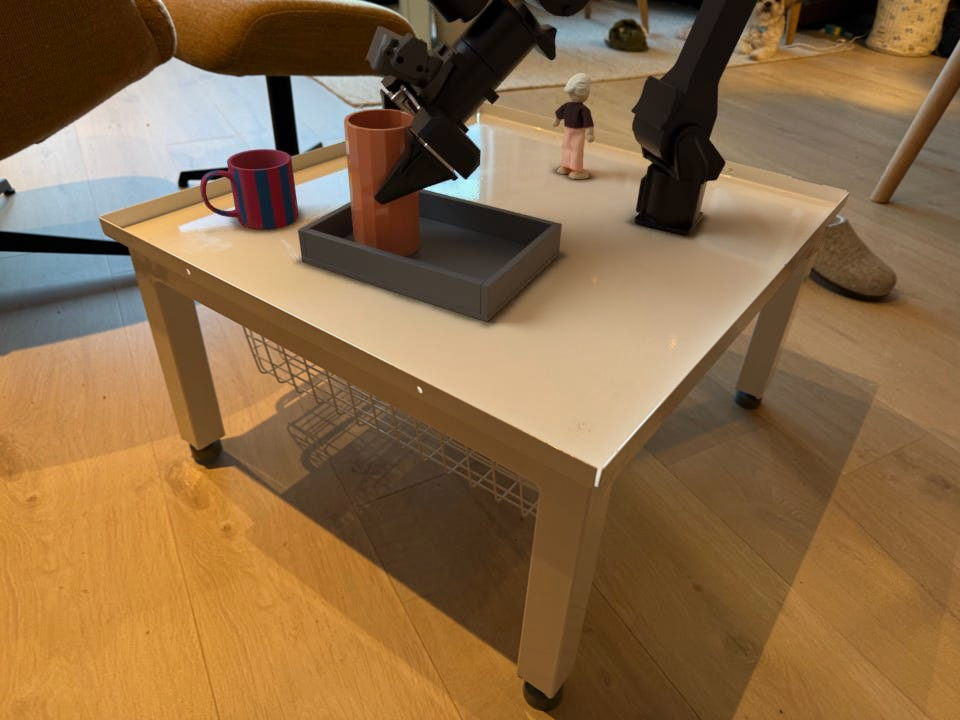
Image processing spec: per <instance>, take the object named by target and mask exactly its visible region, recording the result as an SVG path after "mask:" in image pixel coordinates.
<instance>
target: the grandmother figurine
mask: <svg viewBox="0 0 960 720" xmlns="http://www.w3.org/2000/svg"><path fill="white" fill-rule="evenodd" d="M591 86H592V78H591V76H590V75H588V74H586V73H583V72H579V73H577V74H574V75H573V76H572V77H571V78H569V80H567V83H566V84H565V87H564V88H563V92H564V93H566V94H568V97H569V99H570V100H571V101H566V102H565V103H563V104H561V105H560V106H559V107H558V108H556V110H555V112H554V113H555V114H554V118H553V120H552V122H551V123H552V124H551V125H552V126H553V127H555V128H557V127H559V126H560V124H561V121H562V120H563V126H564V131H563V136H562V143H561V158H560V167H558V169H557V172H556V173H558V174H559V175H560V174H561V175H568V177H569V178H570V179H572V180H581V179H582V180H584V179H588V178H589V177H590V174H589V171H588V170H586V169H585V168H584V155H585V153H584V152H585V141H586V142H587V143H591V144H592V143H593V142H595V140H596V138H595V124H594V120H593V117H592V111H591V109H590V108H589V107H588V106H587V105H585V104H584V103H585V102H586V101H588V99H589V97H590V93H591V92H590V91H591V90H590V88H591Z"/></svg>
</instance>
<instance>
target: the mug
mask: <svg viewBox="0 0 960 720" xmlns="http://www.w3.org/2000/svg"><path fill="white" fill-rule="evenodd" d="M226 163H227V170H211V171H208V172H206V173H205V174H203V176H202V177H201V180H200V184H199V190H200V196H201V199H202V201H203V203H204V205H205V207H206V208H207V209H208V210H210V211H211V212H213V213H215V214H216V215H219V216H221V217H226V218H236V220H237V222H238V223H239V224H240V225H241V226H242V227H244V228H246V229H250V230H256V231H271V230H277V229H282V228H286V227H288V226H290V225H292V224H294V223H295V222H296V221H297V220H298V219H299V216H300V214H299V205H298V197H297V190H296V182H295V176H294V175H295V174H294V169H293V160H292V156H291V154H289V153H288V152H285V151H283V150H279V149H271V148H259V149H258V148H257V149H249V150H244V151H240V152H237V153H234V154H232V155H231V156H229V158H228V159H227V160H226ZM214 177H223V178H226V179H227V180H229V182H230V188H231V193H232V198H233V205H234V209H232V210H224V209H220V208H218V207H216V206H215V207H214V206H213V204H211V202H210V201H209V199H208V195H207V185H208V182H209V181H210V180H211V179H213V178H214Z"/></svg>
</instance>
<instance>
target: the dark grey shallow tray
mask: <svg viewBox="0 0 960 720" xmlns="http://www.w3.org/2000/svg"><path fill="white" fill-rule="evenodd" d="M419 203H420V247H419V249H418V250H417V251H416V252H414V253H413V254H411V255H408V256H406V257H403V256H399V255H396V254H393V253H389V252H386V251H383V250H379V249H376V248H373V247H369V246H366V245H363V244H359V243H356V242H355V241H354V236H353V224H352V212H351V201H349V202H347V203H345V204H343V205H341V206H340V207H338V208H336V209H334V210H332V211H330V212H328V213H326V214H324V215H322V216H320V217H319V218H316V219H315V220H313V221H311V222H309V223H307V224H305V225H303V226H302V227H299V228H298V229H297V233H298V240H299V241H298V242H299V249H300V255H301V257H300V258H301V262H302V263H305V264H308V265H311V266H314V267H317V268H319V269H323V270H326V271H328V272H329V271H330V272H333V273H336V274H337V275H338V274H339V275H341V276H345V277H348V278H351V279H354V280H357V281H359V282H360V281H361V282H363V283H366V284H370V285H372V286H375V287H378V288H382V289H385V290H388V291H390V292H391V291H392V292H393V293H397V294H400V295H403V296H406V297H410V298H412V299H416V300H419V301H422V302H425V303H428V304H432V305H435V306H437V307H441V308H443V309H447V310H449V311H452V312H456V313H459V314H461V315H462V314H463V315H466V316H469V317H471V318H474V319H478V320H481V321H483V322H487V323H488V322H489V321H490V320H491V319H493V317H494V316H496V315H497V313H499V312H500V311H501V310H502V309H503V308H505V306H506V305H508V303H509V302H510V301H511V300H513V299H514V298H515V297H516V296H517V295H518V294H519V293H520V292H521V291H523V289H524V288H525V287H526V286H528V285H529V284H530V283H531V282H532V281H533V280H534V279H535V278H536V277H537V276H538V275H539V274H540V273H541V272H542V271H544V269H546V268H547V267H548V266H549V265H550V264H551V263H552V262H553V261H555V259H557V258H558V257H559V255H560V247H561V239H562V238H561V237H562V229H563V228H562V227H563V224H562V223H560V222H555V221H553V220H548V219H545V218H544V219H543V218H541V217H537V216H533V215H528V214H524V213H520V212H516V211H513V210H509V209H504V208H502V207H501V208H500V207H498V206H497V207H496V206H492V205H488V204H484V203H480V202H476V201H472V200H468V199H464V198H460V197H456V196H452V195H448V194H444V193H440V192H436V191H432V190H428V189H425V188H424V189H422V190H419Z"/></svg>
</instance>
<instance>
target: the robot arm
mask: <svg viewBox="0 0 960 720" xmlns="http://www.w3.org/2000/svg"><path fill="white" fill-rule="evenodd" d="M425 1H426V2H427V3H428V4H429V5H430V6H431V8H432V9H433V10H434V11H435V12H436V14H438V15H439V16H440V17H441V19H442V20H443V21H444V22H445V23H446V24H451V23H454V22H456V21H458V20H459V22H461V23H462V24H467V23H469V24H468V25H466V27H465V28H464V30H462V32H461V33H460V34H459V35H458V36H457V37H456V38H455V39H454V40H453V42H452V43H451V44H450V43H448V42H447V41H446V40H445V41H440V42H439V43H438V44H437V45H436V46H435V47H434V49H432V50H431V49H429V48H428V43H427V42H426V40H424V39H422V38H418V37H416V36H414V34H412V33H411V32H407V33H405V35H401V34H399V33H396V32H394V31H392V30H390V29H387V28H386V27H384V26H381V25H377V26H376V30H375V33H374V35H373V38H372V41H371V44H370V46H369V49H368V52H367V55H366V57H365V61H366V62H368V63H370V64H369V66H370V68H371V69H372V70H374V71H375V72H377V73H379V74H381V75H383V76H384V77H383V79H382V80H381V81H380V83H381V84H382V86H383V88H385V90H386V91H388V92H386V91H385V90H384V89H383V88H380V90H379V95H380V99H381V100H380V101H381V109H394V110H401V111H405V112H408V113H411V114H413V115H414V118H413V121H412V123H411V126H412V128H413V129H414V131H415V132H416V134H417V135H418V136H416V135H415V134H414V133H413V132H412V131H411V130H410V129H409V128H408V127H407V126H405V149H404V152H403V153H402V155H401V156H400V158H399V159H398V160H397V162H396V163H395V165H394V166H393V168H392V169H391V171H390V172H389V174H388V175H387V177H386V178H385V179H384V181H383V182H382V184H381V185H380V187H379V189H378V190H377V192H376V194H375V195H374V198H375V200H376V201H377V202H379V203H380V204H381V205H384V204H386V203H389V202H391V201H394V200H396V199H399V198H401V197H404V196H406V195H409V194H411V193H414V192H416V191H419V190H422V189H424V190H425V189H427V188H431V187H433V186H436V185H439V184H442V183H445V182H448V181H451V180H452V181H453V182H455V181H457V180H458V179H459V176H460V177H461V178H462V179H463V180H465V181H467V180H468V179H469V178H470V177H471V176H472V174H473V173H474V172H475V171H477V169H478V168H479V167H480V166H481V155H482V154H481V153H482V152H481V151H482V150H481V149H480V147H478V146H477V144H476V143H475V142H474V141H473V140H472V139H471V138H470V137H469V135H467V133H468V132H469V131H470V129H469V128H468V126H467V125H466V123H467V122H468V121H469V120H470V119H471V117H472V116H474V114H475V113H476V112H477V111H478V110H479V108H481V107H482V106H483V104H484V103H485V102H486V101H488V102H489V104H490V105H492V106H493V105H494V104H495V102H497V101H498V100H499V98H500V95H499V94H498V93H497V92H496V90H497V89H498V88H499V87H500V86H501V85H502V83H503V82H504V81H505V80H507V78H508V77H509V76H510V75H511V73H513V72H514V70H516V68H517V67H518V66H520V64H521V63H522V62H523V61H524V59H525V58H526V57H527V56H528V55H529V54H530V53H531V52H532V51H533V50H535V52H536V53H538V54H539V55H541V56H542V57H545V58H546V59H547V60H549V61H554V60H555V59H556V57H557V45H556V39H557V33H558V29H557V27H555V26H553V25H551V24H549V23H545V24H542V23H541V22H540V21H539V19H538V18H537V17H536V16H535V14H534V13H532V11H531V10H530V8H529V7H528V6H527V5H526V4H525V3H524V2H517V3H516V2H515V3H514V4H512V3H511V2H510V1H509V0H425ZM524 1H525V2H526V3H527V4H530V5H531V6H534V7H535V8H537V9H539V10H542V11H543V12H546V13H548V14H550V15H552V16H554V17H563V18H569V17H573V16H575V15H576V14H578V13H580V12H582V10H584V9H585V8H586V7H587V6H588V5H589V3H590V2H591V1H592V0H524ZM758 2H759V0H703V1H702V3H701V5H700V8H699V10H698V12H697V15H696V16H695V18H694V21H693V23H692V26H691V28H690V30H689V32H688V34H687V37H686V39H685V41H684V43H683V46H682V48H681V50H680V52H679V55H678V57H677V59H676V61H675V63H674V64H673V66H672V67H671V68H670V69H669V70H668V71H667V72H666V73H665V74H664V75H663V76H661V78H657V77H655V76H653V75H651V74H650V75H649V76H647V78H646V80H645V81H644V83H643V87H642V92H641V94H640V97H639V99H638V100H637V102H636V104H635V105H634V106H633V107H632V109H631V110H630V112H631V113H632V114H634V117H633V120H632V123H631V131H632V132H633V136H634V139H635V141H636V142H637V144H639V146H640V148H641V155H642V158H643V159H645V160H647V161H649V162H651V163H650V164H649V165H648V166H647V170H646V174H645V175H644V176H643V177H641V178H640V183H639V189H638V194H637V199H636V200H637V201H636V206H635V212H636V213H638V214H637V215H636V216H635V217H634V220H633V223H635V224H639V225H642V226H647V227H651V228H654V229H655V228H656V229H660V230H664V231H668V232H671V233H675V234H681V235H684V236H685V235H686V236H689V235H690V234H691V233H692V231H694V229H695V227H696V226H697V225H698V224H699V223H700V221H701V220H702V218H703V216H704V212H703V211H701V210H702V206H703V202H704V196H705V192H706V189H707V184H708V182H715V181H717V180H718V178H719V176H720V174H721V173H722V171H723V169H724V167H725V166H726V164H727V163H726V160H725V159H724V157H723V156H722V155H721V153H720V152H719V150H718V149H717V148H716V146H715V145H714V144H713V142H712V140H710V139H711V136H712V134H713V130H714V127H715V124H716V121H717V118H718V112H719V111H718V109H719V86H720V85H719V84H720V81H721V79H722V76H723V75H724V73H725V70H726V68H727V67H728V65H729V62H730V59H731V58H732V56H733V54H734V52H735V49H736V48H737V46H738V43H739V42H740V39H741V37H742V35H743V34H744V31H745V29H746V26H747V24H748V23H749V21H750V18H751V16H752V14H753V12H754V10H755V8H756V6H757V4H758ZM456 173H457V174H458V175H459V176H458V175H457V174H456Z"/></svg>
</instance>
